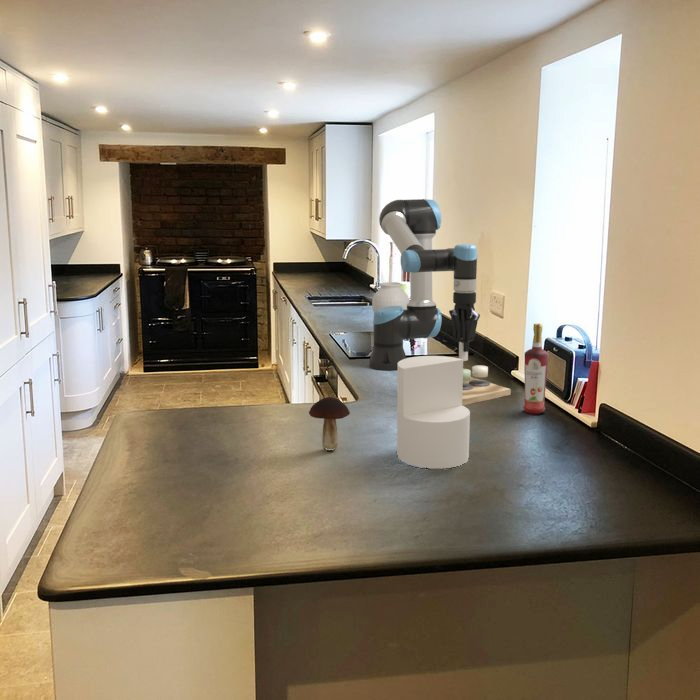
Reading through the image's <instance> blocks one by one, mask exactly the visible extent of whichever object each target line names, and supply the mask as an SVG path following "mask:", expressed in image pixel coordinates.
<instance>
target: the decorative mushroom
mask: <svg viewBox="0 0 700 700" xmlns="http://www.w3.org/2000/svg"><path fill="white" fill-rule="evenodd" d="M308 414H309V416H311V417H312V418H314V419H323V425H322V435H321V436H322V437H321V438H322V439H321V440H322V447H324V448H327V449H334V448H336V449H337V448H338V445H339V437H338V436H339V435H338V427H337V420H338V419H339V420H340V419H344V418H346V417H348V416H349V415H350V414H351V412H350V410H349V408H348V407H347V405H346V404H345V403H344V402H343V401H341V399H338V398H336V397H334V396H327V397H324V398H321V399H319V400H318V401H316V402H315V403H314V404H313V405H311V407H310V409H309V411H308ZM324 448H323V449H324Z"/></svg>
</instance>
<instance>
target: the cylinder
mask: <svg viewBox="0 0 700 700" xmlns="http://www.w3.org/2000/svg"><path fill="white" fill-rule="evenodd" d="M463 369H464V361H463V360H462V359H459V357H454V356H453V357H452V356H445V355H422V356H421V355H420V356H412V357H411V356H410V357H406V359H403V360H401V361H399V362H398V370H397V375H396V376H397V382H396V383H397V385H396V387H397V389H396V390H397V393H396V395H397V397H396V398H397V399H396V400H397V401H396V403H397V405H396V406H397V408H396V410H397V411H396V413H397V414H396V416H397V417H396V419H397V420H396V421H397V422H396V423H397V424H396V426H397V427H396V428H397V430H396V433H397V434H396V435H397V436H396V455H398V457H399V458H400V459H401V460H403V461H405V462H407V463H410V464H412V465H415V466H419V467H425V468H426V467H427V468H441V469H442V468H451V467H456V466H459V467H461V466H463V465H462V464H464V463H465V464H467V462H469V459H468V458H470V451H469V450H470V431H471V430H470V429H471V428H470V426H471V425H470V424H471V423H470V421H471V412H470V409H469V408H467V407H466V406H465V405H463V406H462V391H463ZM465 464H464V465H465ZM460 465H461V466H460ZM456 468H457V467H456Z"/></svg>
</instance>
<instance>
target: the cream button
mask: <svg viewBox="0 0 700 700" xmlns="http://www.w3.org/2000/svg"><path fill="white" fill-rule="evenodd" d="M488 374H489V367H488V366H486V365H481V364H480V365H473V366H471V377H473V378H477V379H480V378H487V377H488V376H489V375H488Z"/></svg>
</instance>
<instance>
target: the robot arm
mask: <svg viewBox="0 0 700 700" xmlns="http://www.w3.org/2000/svg"><path fill="white" fill-rule="evenodd" d="M378 219H379V221H378V222H379V226H380V228H381V230H382V232H384V233H385V234H386V235H388V236H389V237H390V238H391V240H392V242H393V243H394V245H395V246H396V248H397V250H398V252H400V254H401V255H400V266H401V270H402V271H403V272H404V273H410V275H409V278H410V282H409V284H410V286H409V287H410V288H409V289H410V299H409V303H408V304H407V310H404V309H403V307H401V306H389V307H384V308H380V309H378V310H376V311H375V313H373V321H372V323H373V346H372V347H373V348H372V350H371V354H370V358H369V360H368V361H369V362H368V364H369V365H368V366H369V367H370V368H372V369H374V370H381V371H395V370H397V371H398V362H399V361H401V360H403V359H406V358H407V356H406V352H405V349H404V340H410V339H411V340H412V339H413V340H414V339H428V338H434V337H437V335H438V334H439V332H440V330H441V328H442V327H441V326H442V319H443V317H442V311H441V309H440V308H438V307H437V303H436V302H435V301H433V273H434V272H436V273H437V272H453V291H454V292H453V293H452V294H453V295H452V297H453V298H452V302H453V303H454V307H453V309H451V310H449V311H448V312H449V315H450V318H451V319H450V320H451V326H452V334H453V339H455V340H457V341H458V343H457V347H458V348H457V349H458V358H459V359H462V360H463V362H465V361H468V360H469V351H470V342H473V341H474V340H475V337H476V331H477V326H478V321H479V319H480V317H481V314H480V313H477V312H476V311H475V310H476V309H475V304H476V303H477V292H476V291H477V272H478V271H477V270H478V267H477V266H478V247H477V246H476V245H475V244H470V243H469V244H468V243H467V244H464V243H463V244H456V245H455V246H454V247H452V248H451V247H448V248H445V249H444V248H442V249H433V238H434V237H435V236H436V234H437V230H439V229H440V228H441V224H442V212H441V209H440V207H439V204H438V203H437V201H436V200H434V199H427V198H421V199H416V198H415V199H395V200H392V201H390V202H389V203H387V204H386V205H385V206H384V207H383V208H382V209H381V212H380V214H379V218H378Z"/></svg>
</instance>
